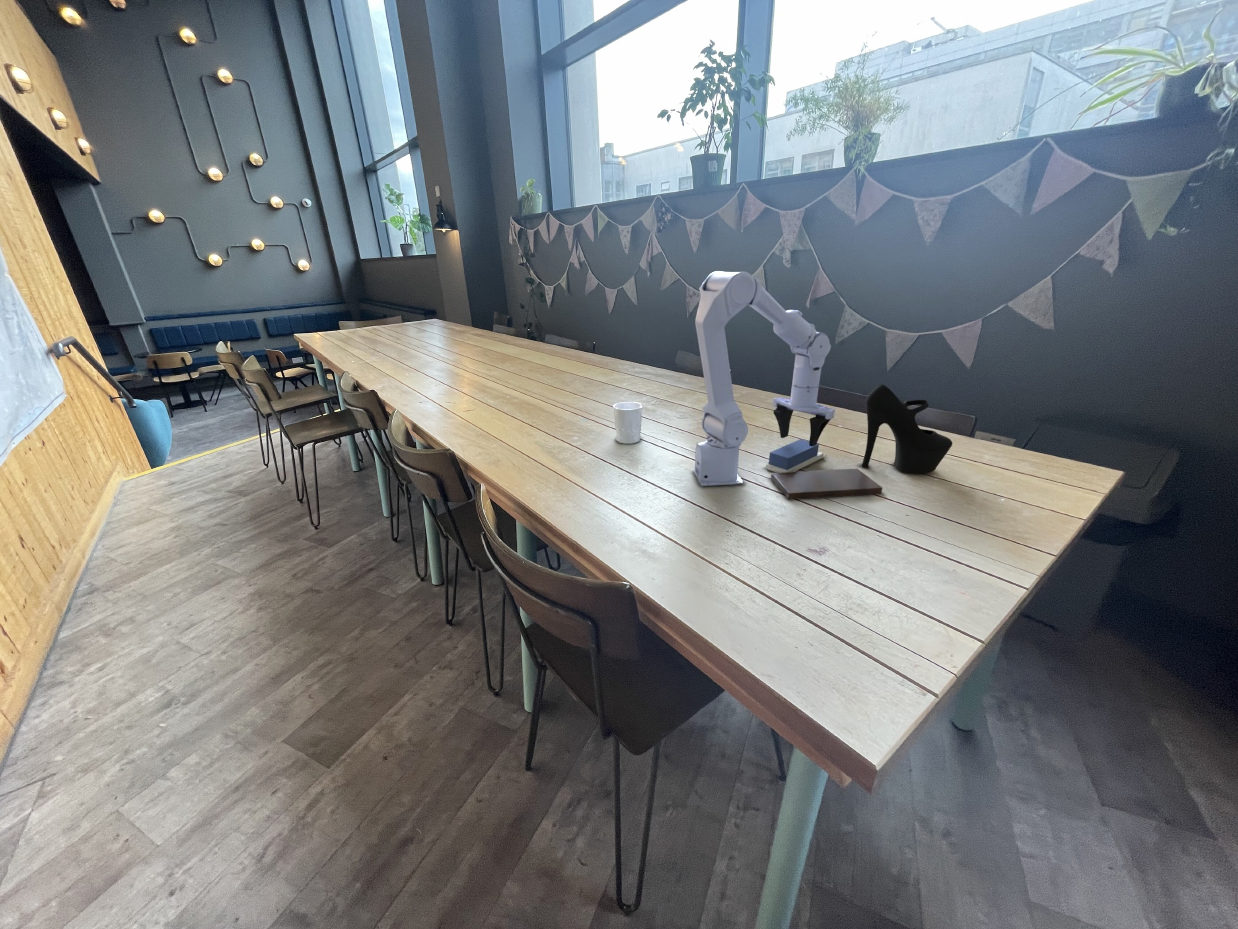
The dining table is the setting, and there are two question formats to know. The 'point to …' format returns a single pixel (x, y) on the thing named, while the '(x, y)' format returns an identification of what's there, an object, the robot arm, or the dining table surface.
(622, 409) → the white cup
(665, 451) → the dining table surface
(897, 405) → the high-heeled shoe
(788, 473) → the shoe shelf
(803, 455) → the blue and white eraser
